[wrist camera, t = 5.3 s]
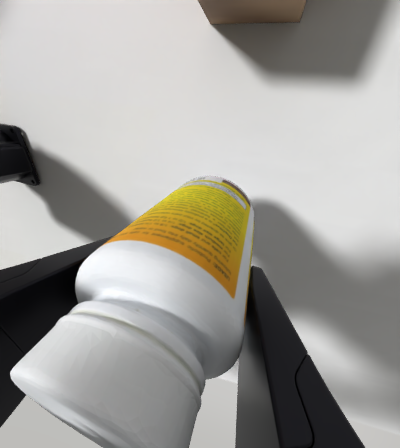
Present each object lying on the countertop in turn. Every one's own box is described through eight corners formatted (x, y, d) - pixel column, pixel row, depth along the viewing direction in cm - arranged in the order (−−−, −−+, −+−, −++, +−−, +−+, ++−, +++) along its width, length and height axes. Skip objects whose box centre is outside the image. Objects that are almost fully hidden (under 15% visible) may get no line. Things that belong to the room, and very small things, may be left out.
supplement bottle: (164, 183, 12) (-79, 324, 3) (247, 163, 10) (141, 413, 1) (188, 250, 14) (76, 436, 6) (260, 246, 12) (253, 538, 4)
